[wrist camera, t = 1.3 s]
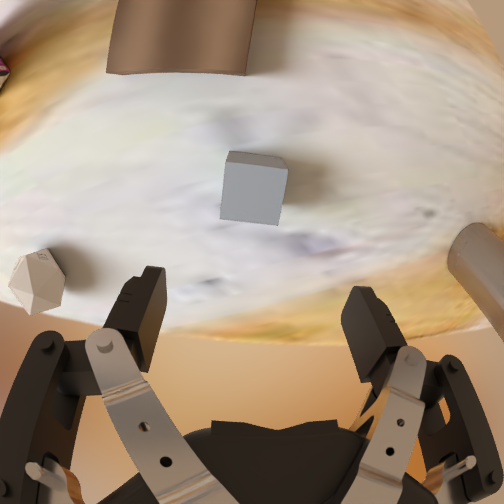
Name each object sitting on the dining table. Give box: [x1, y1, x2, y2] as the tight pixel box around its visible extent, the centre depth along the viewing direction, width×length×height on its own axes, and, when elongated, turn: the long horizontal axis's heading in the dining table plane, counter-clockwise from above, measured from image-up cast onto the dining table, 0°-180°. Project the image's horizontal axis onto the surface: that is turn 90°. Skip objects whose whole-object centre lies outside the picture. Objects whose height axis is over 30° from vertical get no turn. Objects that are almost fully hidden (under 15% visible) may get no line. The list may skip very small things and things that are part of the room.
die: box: [8, 248, 66, 316], centre depth 28 cm, size 8×9×10 cm
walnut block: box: [106, 0, 257, 76], centre depth 16 cm, size 12×12×4 cm
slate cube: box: [220, 151, 289, 226], centre depth 24 cm, size 5×5×5 cm
